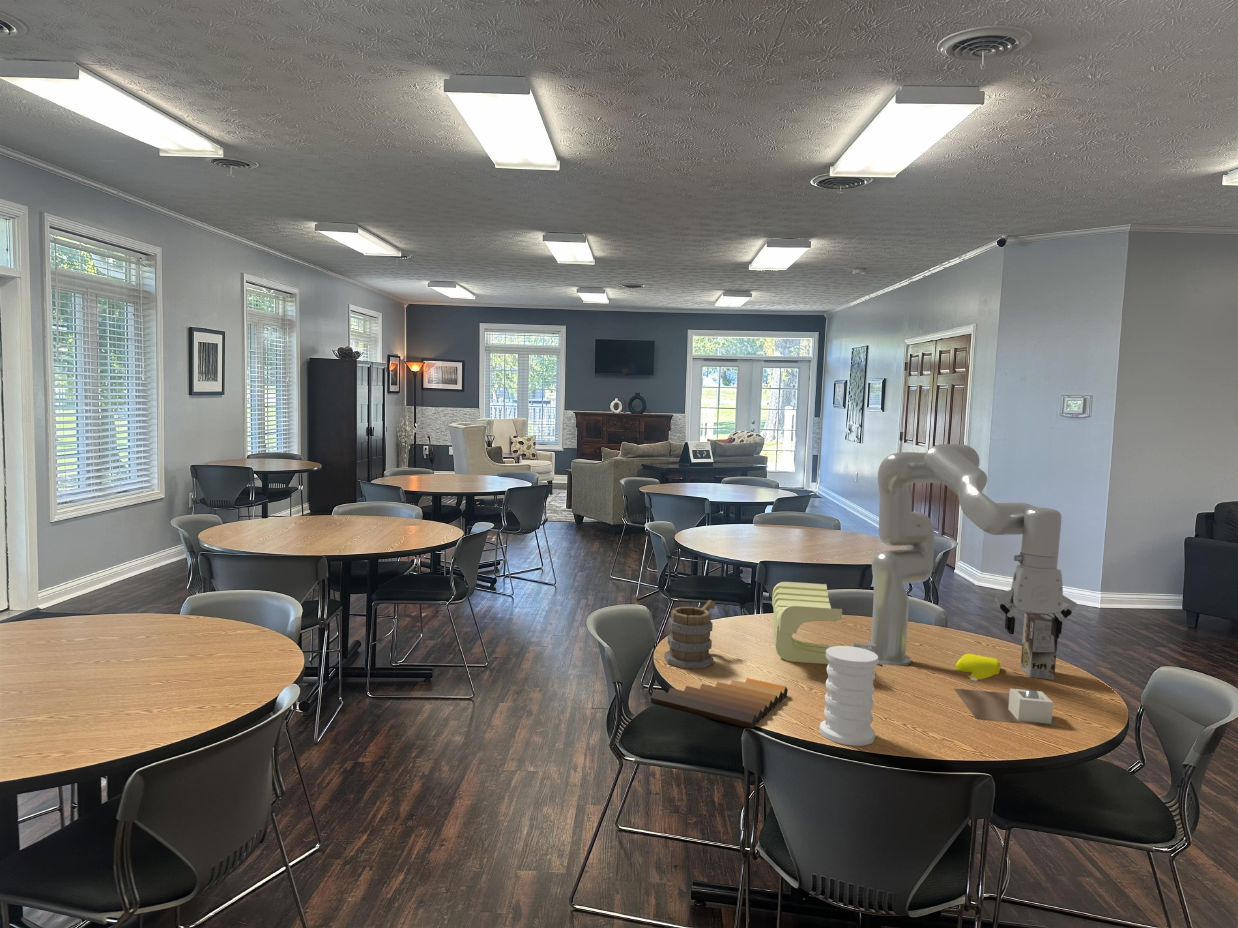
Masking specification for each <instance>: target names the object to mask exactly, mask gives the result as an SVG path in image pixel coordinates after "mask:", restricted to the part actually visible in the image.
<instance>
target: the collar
mask: <svg viewBox="0 0 1238 928" xmlns="http://www.w3.org/2000/svg"><path fill="white" fill-rule="evenodd" d="M1036 691H1037V699H1030V698H1025V692H1026V689H1019V688H1018V689H1017V688H1009V707H1008V709H1009V710H1010V712H1011V713H1012V714H1013V715H1014V716H1015V717H1016V719H1017V720H1018V721H1027V722H1037V723H1047V724H1051V721H1052V718H1053V705H1054V702H1053V701H1052V700H1051V699H1050V698H1049V697H1048V695H1046V694H1045V693H1044V692H1043V691H1041V690H1040V691H1039V690H1036Z"/></svg>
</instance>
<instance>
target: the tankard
mask: <svg viewBox="0 0 1238 928" xmlns="http://www.w3.org/2000/svg"><path fill="white" fill-rule="evenodd" d="M716 604H717V603H715V602H714V601H713V600H711V599H708V600H707V601H706V603H705V604H704V605H703V606H702V607H697V606H695V607H694V606H679V607H675V608H673V609H671V611H670V612H671V613H670V617H669V618H668V627H669V629H670V631H669V632H670V633H669V634H668V635H667V644H668V646H669V650H668V651H665V652H664V659H665V661H666V662H667V665H670V666H673V667H676V668H681V669H684V670H685V669H686V670H688V669H692V670H693V669H694V670H695V669H697V670H698V669H699V670H701V669H705V668H708V667H709V666H711V665H713V664H714V660H715V659H714V657H713V656H712V655H711V654H710V650H711V649H712V642H713V641H712V639H711V632H713V622H712V620H711V616H712V615H711V613H710V610H711V609H713V610H714V609H715V607H716Z"/></svg>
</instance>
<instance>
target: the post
mask: <svg viewBox="0 0 1238 928" xmlns="http://www.w3.org/2000/svg"><path fill="white" fill-rule="evenodd" d="M1025 690H1026V692H1025V698H1030V699H1037V691H1038V690H1035V689H1029V688H1027V689H1025Z"/></svg>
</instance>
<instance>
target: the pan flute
mask: <svg viewBox="0 0 1238 928" xmlns="http://www.w3.org/2000/svg"><path fill="white" fill-rule="evenodd" d="M786 698H788V687H787V686H786V685H782V684H776V683H772V682H767V681H762V680H758V679H753V678H748V677H747V678H746V679H745V681H739V680H735V679H732V680H731V682H730V684H729V683H725V682H719V681H717V682H716V683H715V686H714V685H709V684H705V683H701V685H700V687H699V688H697V687H695V686H694V687H693V686H689V685H686V686H685V687H684V690H683V689H682V690H681V689H677V688H673V687H670V688H669V690H668V692H664V691H660V690H656V689H653V691H652V694H651V696H650V703H651V704H653V705H655V706H660V707H665V708H668V709H672V710H676V711H679V712H682V713H683V712H684V713H689V714H692V715H695V716H701V717H704V718H707V719H711V720H715V721H720V722H723V723H727V724H730V725H734V726H739V727H743V728H747V729H750V730H753V729H754V728H755V727H756V726H757V724H760V722H761V721H762V720H763V719H764V718H765V717H767V716H768V714H770V713H771V712H772V711H773V709H775V708H776V707H777V706H778V705H780V703H781V702H783V700H785V699H786Z"/></svg>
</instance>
